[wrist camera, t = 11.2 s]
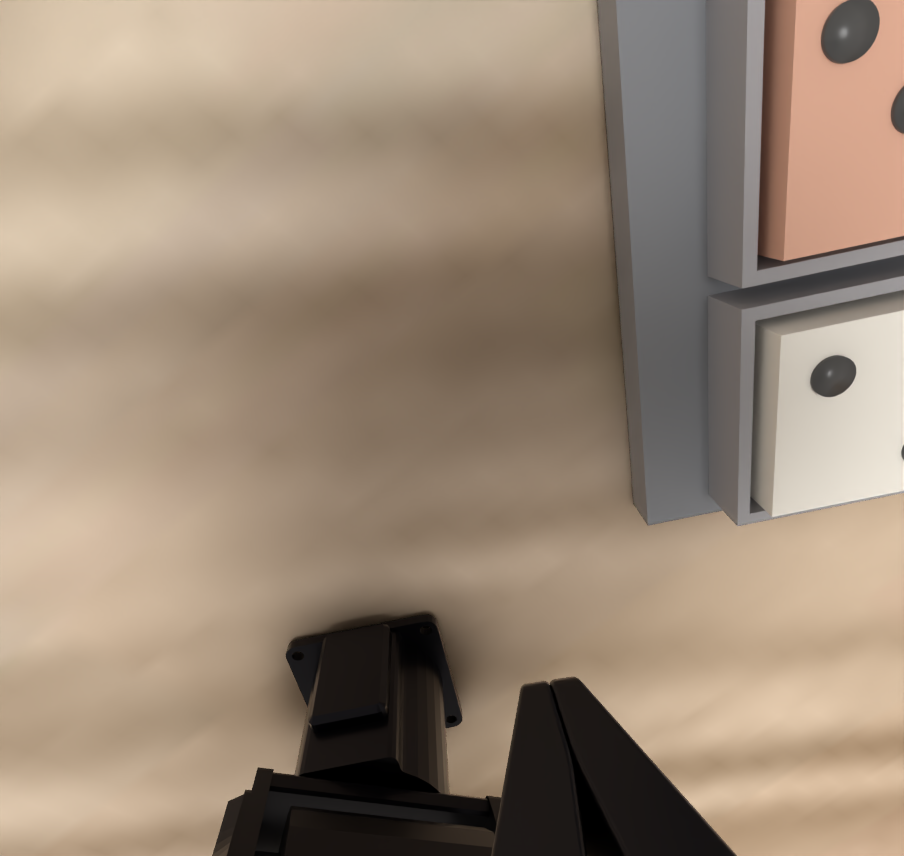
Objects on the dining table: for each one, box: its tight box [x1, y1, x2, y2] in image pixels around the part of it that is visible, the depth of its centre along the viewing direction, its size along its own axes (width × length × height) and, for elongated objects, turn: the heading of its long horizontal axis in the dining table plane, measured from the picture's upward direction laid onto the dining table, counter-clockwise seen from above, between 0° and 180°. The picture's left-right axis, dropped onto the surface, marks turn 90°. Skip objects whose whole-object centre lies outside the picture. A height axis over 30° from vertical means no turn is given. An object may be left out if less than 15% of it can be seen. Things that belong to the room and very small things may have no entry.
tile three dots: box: [757, 0, 904, 261], centre depth 14 cm, size 6×6×3 cm
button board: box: [597, 0, 904, 526], centre depth 16 cm, size 25×12×4 cm, turn 11°
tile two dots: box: [750, 290, 904, 517], centre depth 18 cm, size 6×6×3 cm
